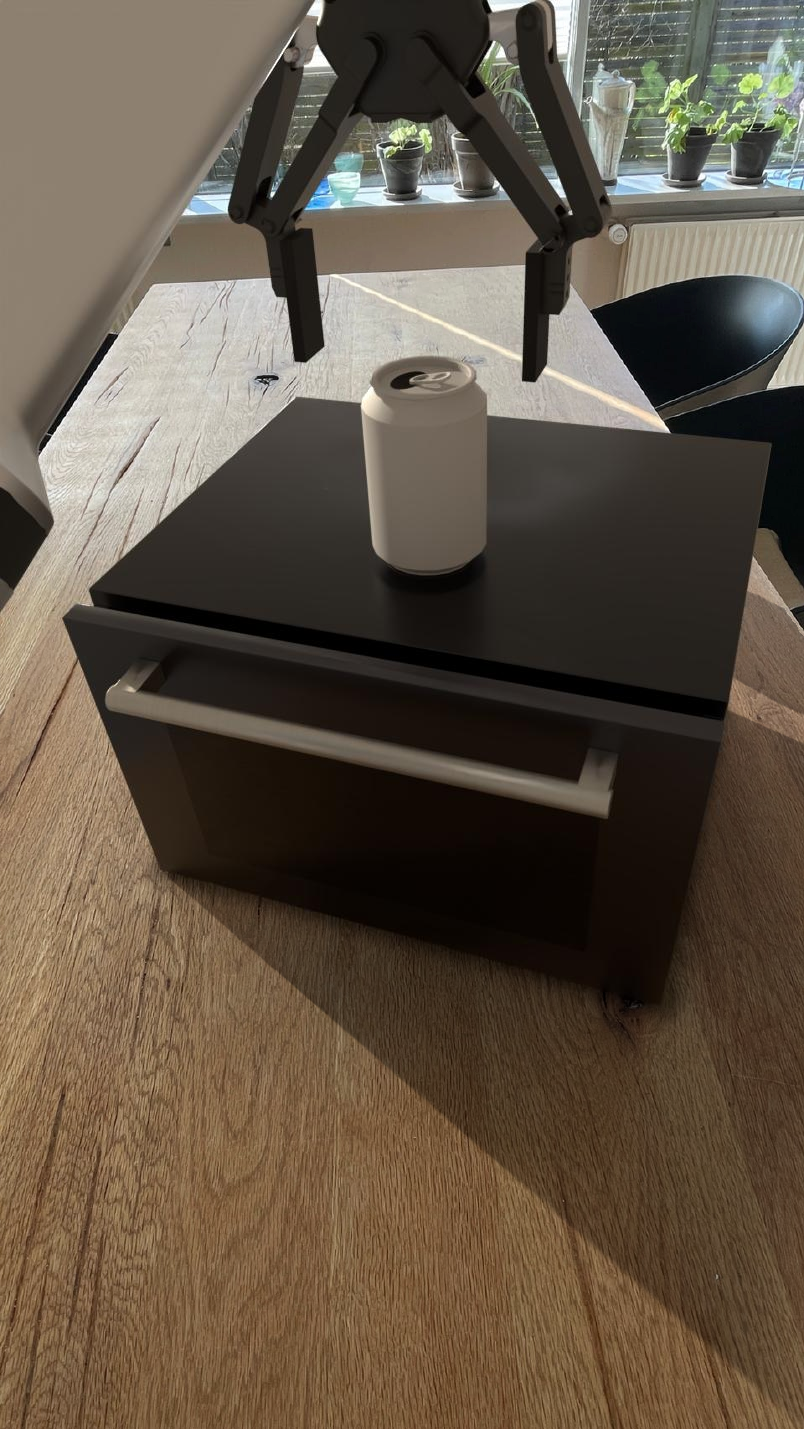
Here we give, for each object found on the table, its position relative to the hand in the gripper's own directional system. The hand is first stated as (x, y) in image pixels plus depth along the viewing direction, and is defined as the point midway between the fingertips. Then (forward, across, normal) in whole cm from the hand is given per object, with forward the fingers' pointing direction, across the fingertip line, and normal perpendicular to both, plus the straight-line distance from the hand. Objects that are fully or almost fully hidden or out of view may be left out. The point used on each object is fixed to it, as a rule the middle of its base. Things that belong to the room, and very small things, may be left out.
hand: (418, 364), depth 54 cm
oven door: (+39, 0, +13) cm, 41 cm away
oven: (+39, 0, -6) cm, 39 cm away
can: (+13, 0, 0) cm, 13 cm away
